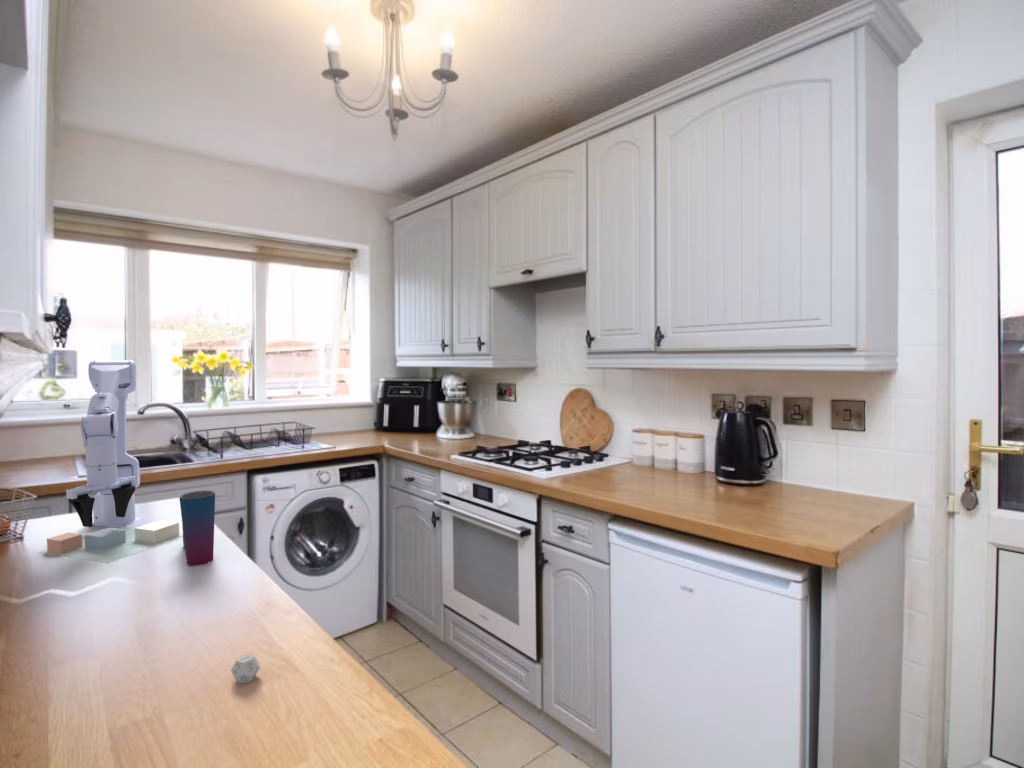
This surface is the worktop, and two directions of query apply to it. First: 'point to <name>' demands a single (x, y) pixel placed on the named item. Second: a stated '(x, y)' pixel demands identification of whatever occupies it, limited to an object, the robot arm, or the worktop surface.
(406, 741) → the worktop surface
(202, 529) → the cup
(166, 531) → the brick
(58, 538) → the brick
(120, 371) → the robot arm
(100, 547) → the brick
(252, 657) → the game die
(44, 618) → the worktop surface
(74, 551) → the baseplate
